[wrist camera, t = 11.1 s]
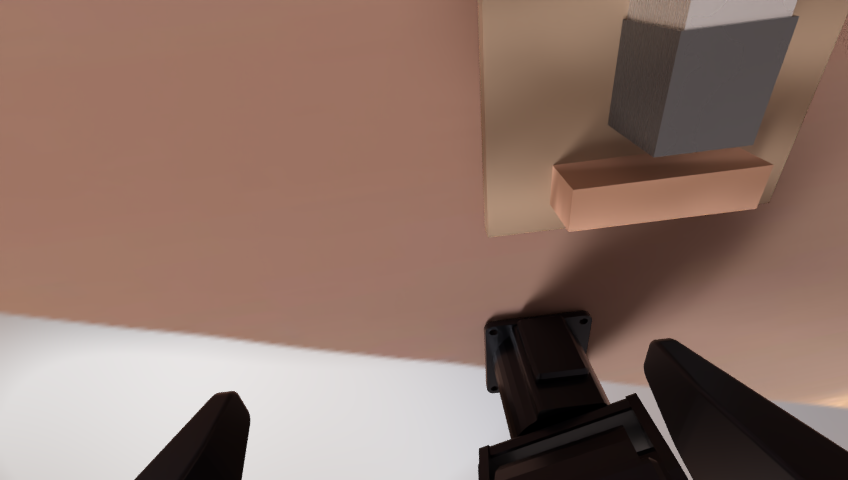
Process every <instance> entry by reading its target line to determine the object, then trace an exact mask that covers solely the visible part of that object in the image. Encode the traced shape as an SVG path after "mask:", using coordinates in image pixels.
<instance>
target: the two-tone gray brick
mask: <svg viewBox="0 0 848 480" xmlns="http://www.w3.org/2000/svg"><path fill="white" fill-rule="evenodd" d="M796 3H797V0H630V2H629V8H628V15H627V19H623V22H622V29H621V36H620V43H619V50H618V56H617V63H616V70H615V77H614V84H613V91H612V98H611V105H610V111H609V118H608V125H609V126H610V127H611V128H613V129H614V130H616V131H617V132H618V133H620V134H621V135H623V136H624V137H625V138H627V139H628V140H630V141H631V142H632V143H634V144H635V145H637V146H638V147H639V148H641V149H642V150H644V151H645V152H646V153H648V154H649V155H651V156H652V157H653V158H654V157H662V156H670V155H678V154H686V153H694V152H702V151H710V150H718V149H726V148H734V147H742V146H750V145H753V144H754V141H755V139H756V136H757V133H758V130H759V127H760V125H761V122H762V119H763V116H764V114H765V111H766V108H767V105H768V102H769V100H770V97H771V94H772V91H773V89H774V86H775V83H776V80H777V77H778V75H779V72H780V69H781V66H782V64H783V61H784V58H785V55H786V52H787V50H788V47H789V44H790V41H791V39H792V36H793V33H794V30H795V27H796V25H797V22H798V19H799V16H796V15H792V14H793V11H794V9H795V6H796Z"/></svg>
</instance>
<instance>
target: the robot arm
mask: <svg viewBox="0 0 848 480" xmlns="http://www.w3.org/2000/svg"><path fill="white" fill-rule="evenodd" d="M581 319H582V320H581ZM591 323H592V318H591V316H590V315H589V313H588V312H586V311H577V312H569V313H561V314H552V315H544V316H536V317H528V318H520V319H511V320H503V321H495V322H490V323H488V324H486V325H485V327H484V339H485V365H486V386H487V390H488V391H489V392H490V393H499V392H500V396H501V400H502V404H503V408H504V412H505V416H506V420H507V424H508V429H509V432H510V437H511V439H510V440H507V441H504V442H502V443H499V444H496V445H493V446H489V445H487V446H485V447H482V448H479V465H478V472H479V473H478V474H479V480H688V478H687V476H686V475H685V473H684V471H683V470H682V468H681V466H680V464H679V463H678V461H677V459H676V458H675V456H674V454H673V453H672V451H671V450H670V448H669V446H668V445H667V443H666V441H665V440H664V438H663V436H662V435H661V433H660V432H659V430H658V428H657V427H656V425H655V424H654V422H653V420H652V419H651V417H650V415H649V414H648V412H647V410H646V409H645V407H644V406H643V404H642V402H641V401H640V399H639V397H638V396H637V394H636V393H634V394H631V395H628V396H626V399H623V400H620V401H617V402H615V403H612V404H610V402H609V400H608V398H607V396H606V394H605V392H604V390H603V388H602V386H601V384H600V382H599V380H598V378H597V376H596V374H595V372H594V370H593V368H592V366H591V364H590V362H589V360H588V358H587V356H586V352H587V346H588V340H589V334H590V329H591ZM493 329H495V330H493ZM491 330H492V331H491ZM644 373H645V376H646V378H647V381H648V383H649V386H650V388H651V390H652V393H653V395H654V397H655V400H656V402H657V405H658V407H659V409H660V411H661V414H662V417H663V419H664V421H665V423H666V426H667V428H668V431H669V433H670V435H671V438H672V440H673V442H674V444H675V446H676V448H677V450H678V452H679V454H680V456H681V458H682V460H683V462H684V464H685V465H686V467H687V469H688V471H689V473H690V474H691V476H692V478H693V480H848V451H846V450H845V449H843V448H842V447H840V446H839V445H837V444H836V443H834V442H832V441H831V440H829V439H828V438H826V437H824V436H823V435H822V434H820V433H819V432H817V431H815V430H814V429H812V428H811V427H809V426H808V425H806V424H805V423H803V422H801V421H800V420H798V419H797V418H795V417H794V416H792V415H791V414H789V413H788V412H786V411H785V410H783V409H781V408H780V407H778V406H777V405H775V404H774V403H772V402H771V401H769V400H768V399H766V398H764V397H763V396H761V395H760V394H758V393H757V392H755V391H754V390H752V389H751V388H749V387H747V386H746V385H744V384H743V383H741V382H740V381H738V380H737V379H735V378H734V377H732V376H730V375H729V374H727V373H726V372H724V371H723V370H721V369H720V368H718V367H717V366H715V365H713V364H712V363H710V362H709V361H707V360H706V359H704V358H703V357H701V356H700V355H698V354H696V353H695V352H693V351H692V350H690V349H689V348H687V347H686V346H684V345H683V344H681V343H679V342H678V341H676V340H674V339H671V338H666V339H658V340H653V341H652V342H651V343H650V345H649V349H648V352H647V355H646V359H645V362H644ZM249 427H250V414H249V412H248V410H247V408H246V406H245V405H244V403H243V401H242V400H241V398H240V396H239V395H238V393H236V392H235V391H229V392H221V393H217V394H215V395H214V396H212V398H210V400H208V402H207V403H206V404H205V405H204V406H203V407H202V408H201V409H200V410H199V411H198V412H197V413H196V414H195V415H194V417H193V418H192V419H191V420H190V421H189V422H188V423H187V424H186V425H185V426H184V427H183V428H182V429H181V431H180V432H179V433H178V434H177V435H176V436H175V437H174V438H173V439H172V440H171V441H170V442H169V443H168V444H167V445H166V446H165V448H164V449H163V450H162V451H161V452H160V453H159V454H158V455H157V456H156V457H155V459H153V460H152V461H151V462H150V464H149V465H148V466H147V467H146V468H145V469H144V470H143V471H142V472H141V473H140V474H139V475H138V476H137V478H136V479H135V480H241V479H242V473H243V467H244V460H245V453H246V447H247V440H248V434H249Z"/></svg>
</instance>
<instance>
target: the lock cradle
mask: <svg viewBox="0 0 848 480" xmlns="http://www.w3.org/2000/svg"><path fill="white" fill-rule="evenodd" d="M629 2H630V0H478V31H479V64H480V97H481V129H482V162H483V194H484V227H485V230H486V233H487V236H488V238H490V237H498V236H507V235H515V234H523V233H531V232H539V231H547V230H555V229H563V228H566V229H567V230H568V232H572V231H581V230H589V229H597V228H605V227H613V226H621V225H629V224H637V223H645V222H653V221H661V220H669V219H677V218H686V217H694V216H702V215H710V214H718V213H726V212H734V211H742V210H750V209H756V208H757V206H758V204H765V203H769V201H770V199H771V197H772V194H773V192H774V189H775V187H776V185H777V182H778V180H779V177H780V175H781V173H782V170H783V168H784V165H785V163H786V161H787V158H788V156H789V153H790V151H791V149H792V146H793V144H794V141H795V139H796V137H797V134H798V132H799V129H800V127H801V125H802V122H803V120H804V117H805V115H806V113H807V110H808V108H809V105H810V103H811V101H812V98H813V96H814V93H815V91H816V89H817V86H818V84H819V81H820V79H821V77H822V74H823V72H824V70H825V67H826V65H827V62H828V60H829V58H830V55H831V53H832V50H833V48H834V46H835V43H836V41H837V38H838V36H839V34H840V31H841V29H842V26H843V24H844V22H845V19H846V17H847V14H848V0H797V3H796V6H795V9H794V11H793V14H792V15H796V16H799V19H798V22H797V25H796V27H795V30H794V33H793V36H792V39H791V41H790V44H789V47H788V50H787V52H786V55H785V58H784V61H783V64H782V66H781V69H780V72H779V75H778V77H777V80H776V83H775V86H774V89H773V91H772V94H771V97H770V100H769V102H768V105H767V108H766V111H765V114H764V116H763V119H762V122H761V125H760V127H759V130H758V133H757V136H756V139H755V141H754V144H753V145H750V146H742V147H734V148H726V149H718V150H710V151H702V152H694V153H686V154H678V155H670V156H662V157H654V158H653V157H652V156H651V155H649V154H648V153H646V152H645V151H644V150H642V149H641V148H639V147H638V146H637V145H635V144H634V143H632V142H631V141H630V140H628V139H627V138H625V137H624V136H623V135H621V134H620V133H618V132H617V131H616V130H614V129H613V128H611V127H610V126H609V125H608V118H609V111H610V105H611V98H612V91H613V84H614V77H615V70H616V63H617V56H618V50H619V43H620V36H621V29H622V22H623V19H627V15H628V8H629Z"/></svg>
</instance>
